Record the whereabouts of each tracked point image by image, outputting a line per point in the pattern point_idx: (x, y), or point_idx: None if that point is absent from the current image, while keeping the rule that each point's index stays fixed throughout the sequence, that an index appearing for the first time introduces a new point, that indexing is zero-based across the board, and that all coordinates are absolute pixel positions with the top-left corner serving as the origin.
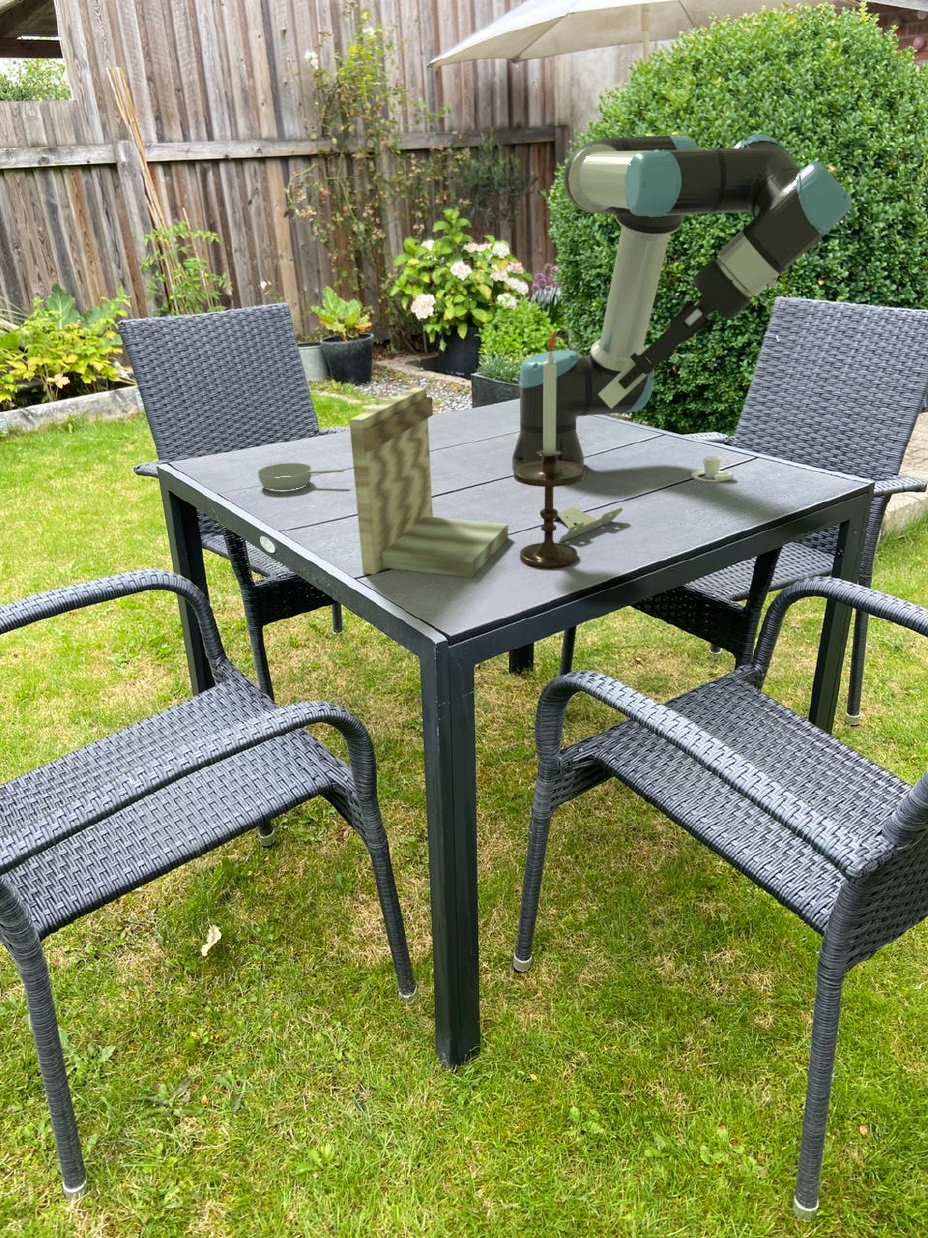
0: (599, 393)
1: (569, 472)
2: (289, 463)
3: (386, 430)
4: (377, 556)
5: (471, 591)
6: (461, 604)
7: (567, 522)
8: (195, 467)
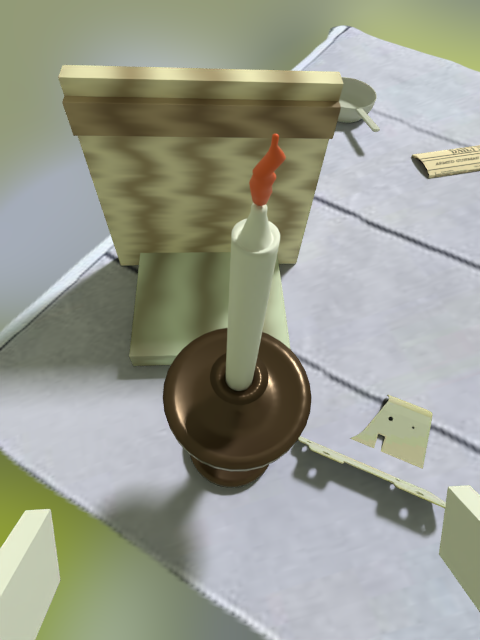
0: (20, 519)
1: (258, 431)
2: (371, 88)
3: (134, 118)
4: (128, 253)
5: (87, 381)
6: (44, 384)
7: (375, 425)
8: (350, 43)
